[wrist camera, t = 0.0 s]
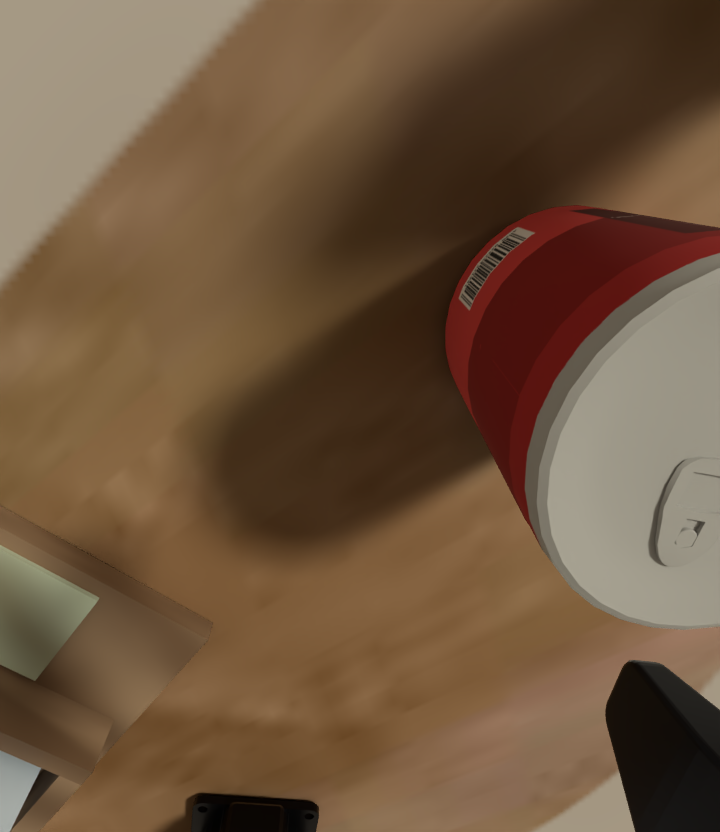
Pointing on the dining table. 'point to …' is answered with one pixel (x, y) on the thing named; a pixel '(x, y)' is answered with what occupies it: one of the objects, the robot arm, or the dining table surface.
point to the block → (14, 787)
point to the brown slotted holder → (77, 659)
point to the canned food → (603, 400)
